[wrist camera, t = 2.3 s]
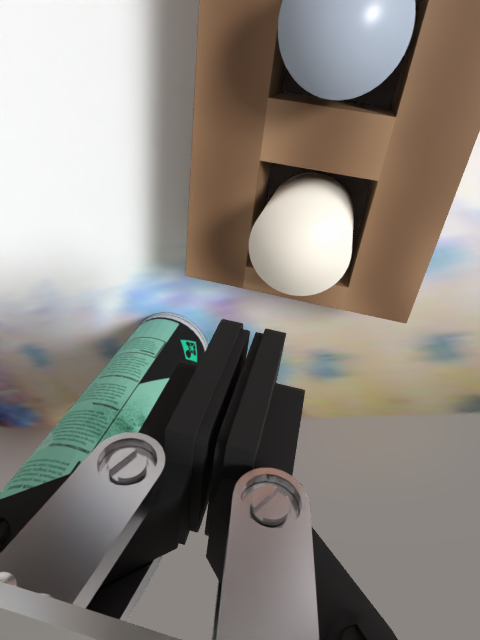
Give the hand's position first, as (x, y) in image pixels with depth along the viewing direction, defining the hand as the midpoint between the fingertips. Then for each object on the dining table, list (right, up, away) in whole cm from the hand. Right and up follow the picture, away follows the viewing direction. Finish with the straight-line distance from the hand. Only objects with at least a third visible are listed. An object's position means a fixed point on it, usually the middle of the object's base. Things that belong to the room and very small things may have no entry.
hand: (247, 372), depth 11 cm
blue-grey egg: (+4, +13, +7) cm, 16 cm away
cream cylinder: (+3, +7, +11) cm, 14 cm away
